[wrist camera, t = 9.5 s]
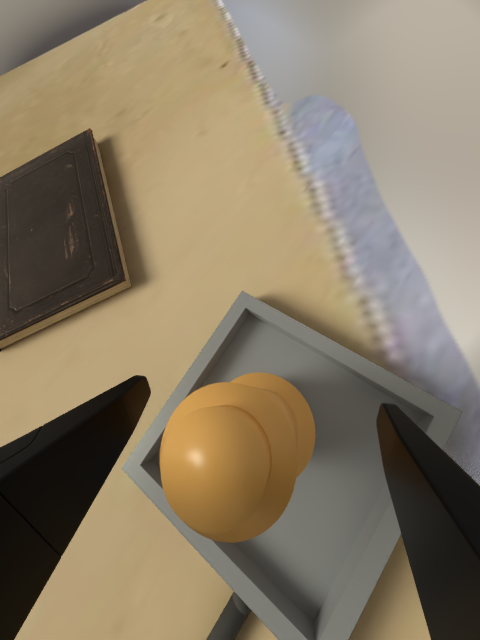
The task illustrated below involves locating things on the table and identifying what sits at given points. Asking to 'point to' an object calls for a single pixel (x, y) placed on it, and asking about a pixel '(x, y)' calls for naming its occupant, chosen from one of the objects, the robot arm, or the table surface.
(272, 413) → the orange rounded stepped post
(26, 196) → the hardcover book
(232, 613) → the rod
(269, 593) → the grey square tray
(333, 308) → the table surface
